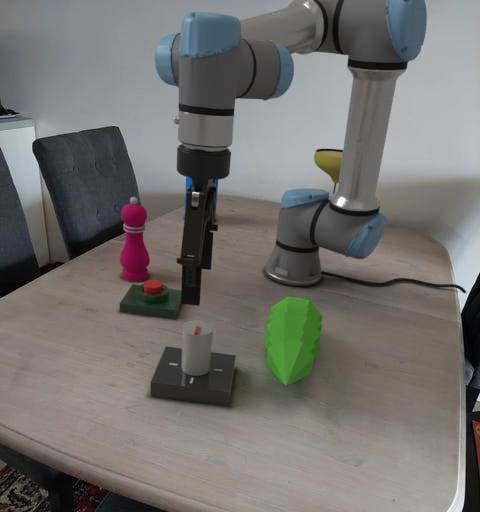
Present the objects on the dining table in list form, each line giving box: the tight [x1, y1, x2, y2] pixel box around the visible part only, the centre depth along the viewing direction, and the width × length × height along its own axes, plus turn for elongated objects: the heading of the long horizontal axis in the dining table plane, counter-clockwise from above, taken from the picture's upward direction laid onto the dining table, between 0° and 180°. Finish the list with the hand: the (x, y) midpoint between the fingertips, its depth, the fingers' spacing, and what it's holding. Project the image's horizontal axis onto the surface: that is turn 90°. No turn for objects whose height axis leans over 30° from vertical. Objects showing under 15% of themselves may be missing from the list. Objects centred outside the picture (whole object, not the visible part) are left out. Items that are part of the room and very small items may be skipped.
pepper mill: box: [119, 196, 151, 282], centre depth 113 cm, size 7×7×20 cm
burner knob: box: [181, 319, 214, 376], centre depth 79 cm, size 5×5×8 cm
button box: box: [119, 283, 182, 320], centre depth 104 cm, size 12×10×4 cm
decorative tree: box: [262, 295, 323, 386], centre depth 87 cm, size 11×12×30 cm
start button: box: [143, 279, 163, 294], centre depth 103 cm, size 4×4×2 cm
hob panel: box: [150, 346, 237, 407], centre depth 82 cm, size 13×11×3 cm
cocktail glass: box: [313, 148, 343, 195], centre depth 168 cm, size 18×18×25 cm
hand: (197, 284), depth 75 cm, fingers open, 13 cm apart
